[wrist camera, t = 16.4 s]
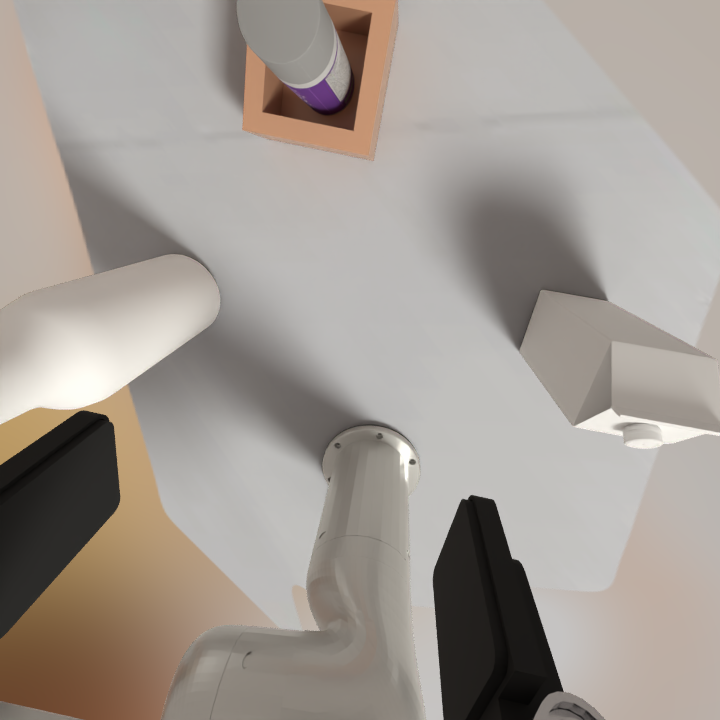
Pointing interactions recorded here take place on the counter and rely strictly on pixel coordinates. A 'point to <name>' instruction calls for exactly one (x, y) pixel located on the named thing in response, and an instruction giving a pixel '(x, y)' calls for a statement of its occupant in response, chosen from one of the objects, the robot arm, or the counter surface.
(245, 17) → the container
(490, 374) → the counter surface
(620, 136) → the counter surface
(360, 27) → the tan open box
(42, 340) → the alcohol
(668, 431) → the milk carton
